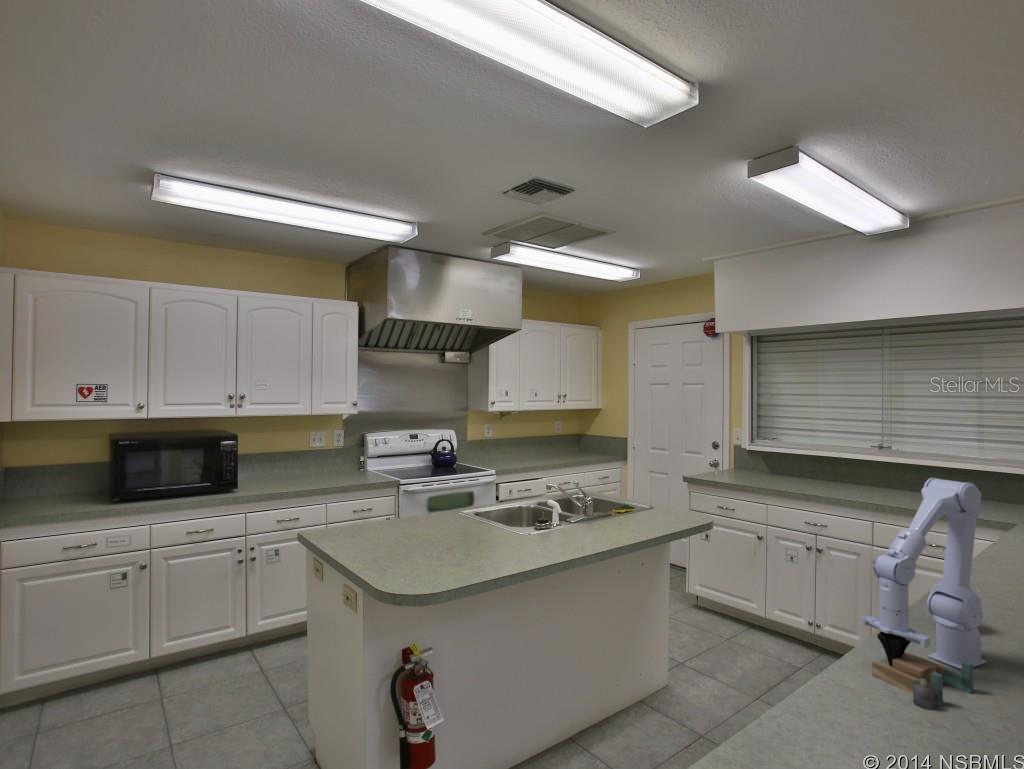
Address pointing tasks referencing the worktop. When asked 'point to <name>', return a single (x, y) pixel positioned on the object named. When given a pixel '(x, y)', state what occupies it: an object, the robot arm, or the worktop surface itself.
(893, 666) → the brown wooden block
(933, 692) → the bay
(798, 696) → the worktop surface
